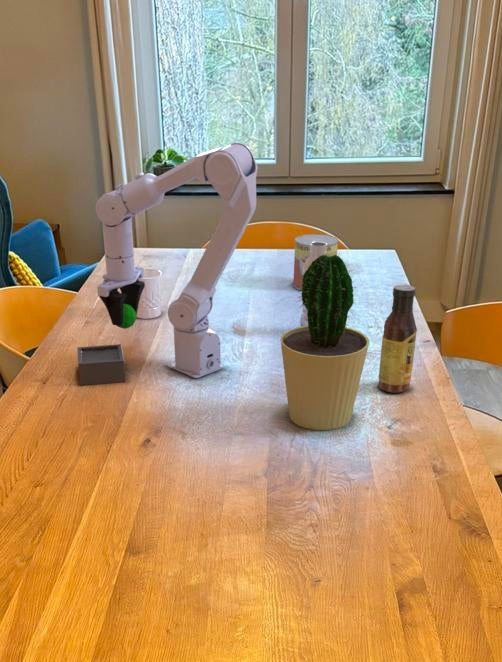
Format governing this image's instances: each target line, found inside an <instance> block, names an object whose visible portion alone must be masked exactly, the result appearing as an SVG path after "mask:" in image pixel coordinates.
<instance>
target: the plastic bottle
mask: <svg viewBox="0 0 502 662" xmlns="http://www.w3.org/2000/svg"><path fill="white" fill-rule="evenodd" d="M309 252H310V253H311V255H310V256H309V258H308V259H307V260H306V262H305V263H304V266H303V269H304V270H305V269H306V270H307V269H308V267H309V266H310V264H311V263H312V260H313V261H315V260H316V259H317V258H319V256H320V255H321V256H322V255H325V254H326V253H327V244H326V243H324V242H313V243H311V244H310V251H309ZM314 257H315V259H314ZM309 262H310V263H309ZM308 265H309V266H308ZM304 270H303V273H305V271H306V270H305V271H304ZM303 275H304V274H303ZM304 310H305V311H304ZM306 310H307V309H306V307H305V305H303V306H302V310H301V311H302V312H301V314H300V319H299V324H300V327H302V326H308V320H307V319H308V316H307V311H306ZM305 312H306V313H305ZM304 314H305V315H304ZM304 317H306V318H304ZM303 322H304V323H303Z"/></svg>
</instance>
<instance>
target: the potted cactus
mask: <svg viewBox="0 0 502 662" xmlns="http://www.w3.org/2000/svg"><path fill="white" fill-rule="evenodd" d="M341 255H342V254H341V251H339V253H338V254H337V255H336V254H335V255H333V256H330V255H329V256H330V257H329V256H327V255H322V256H321V255H320V256H319V258H317V259H316V260H315V261H313V260H312V263H311V264H310V266H309V265H308V266H309V267H308V269H307V270H306V269H305V270H306V271H305V270H304V269H303V268H302V269H303V270H304V271H305V273H303V274H304V275H303V283H302V290H300V289H299V290H298V291H297V292H296V293H298V294H300V295H299V297H298V296H297V299H298V300H296V303H297V302H301V303H302V304H301V305H300V306H299V308H302V307H303V305H305V307H306V309H307V310H306V311H307V316H308V319H307V320H308V326H302V327H301V326H297V327H294V328H291V329H289V330H286V331H285V332H284V333H283V334H281V337H280V347H281V356H282V365H283V374H284V382H285V389H286V390H285V391H286V398H287V399H286V401H287V408H288V409H287V410H288V416H289V419H290V420H291V422H292V423H294V424H295V425H297V426H298V427H301V428H305V429H308V430H313V431H330V430H331V431H332V430H336V429H340V428H342V427H345V426H346V425H347V424H349V422H350V420H351V418H352V415H353V411H354V406H355V403H356V398H357V394H358V391H359V390H358V389H359V385H360V382H361V377H362V375H363V370H364V365H365V362H366V359H367V358H366V357H367V354H368V348H369V346H370V339H369V337H368V336H367V335H366V334H364V333H363V332H362V331H359V330H357V329H354V328H351V327H347V326H349V324H347V321H348V320H349V319H350V318H351V316H348V314H349V313H353V310H351V308H352V307H353V305H357V303H356V302H357V300H356V299H355V298H354V295H355V294H356V293H357V292H359V290H358V289H356V288H357V286H353V283H354V282H356V281H357V279H355V280H354V281H353V280H352V277H354V274H350V272H352V271H354V269H351V270H348V268H349V265H347V262H348V260H347V259H346V260H345V258H343V257H342V256H341ZM314 259H315V257H314ZM344 260H345V261H344ZM309 263H310V262H309ZM301 274H302V273H301ZM298 282H299V281H298ZM300 286H301V285H300ZM296 287H297V286H296ZM299 288H300V287H299ZM354 289H355V290H354ZM356 290H358V291H356ZM355 291H356V292H355ZM355 301H356V302H355ZM304 311H305V310H304ZM305 313H306V312H305ZM304 315H305V314H304ZM304 318H306V317H304ZM303 323H304V322H303Z"/></svg>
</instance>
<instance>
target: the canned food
mask: <svg viewBox="0 0 502 662" xmlns="http://www.w3.org/2000/svg"><path fill="white" fill-rule="evenodd" d="M313 242H324V243H326V244H327V253H326V254H325V255H327V256H329V255H330V256H333V255H335V254H336V255H337V256H338V250H339V249H338V247H339V242H340V241H339V238H338V237H336V236H333V235H330V234H321V233H310V234H301V235H298V236H295V238H294V256H293V257H294V258H293V282H292V287H293V288H294V289H296V290H298V291H301V290H302V283H303V269H302V268H303V266H304V263H305V262H306V260H307V259H308V258H309V256H310V255H311V253H310V252H309V251H310V244H311V243H313ZM330 256H329V257H330ZM301 273H302V274H301ZM298 281H299V282H298ZM300 285H301V286H300ZM296 286H297V287H296ZM299 287H300V288H299ZM299 289H300V290H299Z"/></svg>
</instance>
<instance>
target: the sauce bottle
mask: <svg viewBox="0 0 502 662" xmlns="http://www.w3.org/2000/svg"><path fill="white" fill-rule="evenodd" d="M416 289H417V288H416V287H415V286H413V285H411V284H409V285H408V284H397V285H395V286H393V288H392V297H393V298H392V306H391V312H390V313H389V315H388V316H387V317H386V319H385V321H384V324H383V335H382V340H381V350H380V360H379V370H378V387H379V389H381V390H382V391H383V392H386V393H392V394H400V393H404V392H406V391H408V390H409V388H410V385H411V380H412V373H413V365H414V359H415V358H414V356H415V349H416V341H417V331H418V328H417V325H416V320H415V315H414V311H413V310H414V308H413V307H414V297H415V296H416Z"/></svg>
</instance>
